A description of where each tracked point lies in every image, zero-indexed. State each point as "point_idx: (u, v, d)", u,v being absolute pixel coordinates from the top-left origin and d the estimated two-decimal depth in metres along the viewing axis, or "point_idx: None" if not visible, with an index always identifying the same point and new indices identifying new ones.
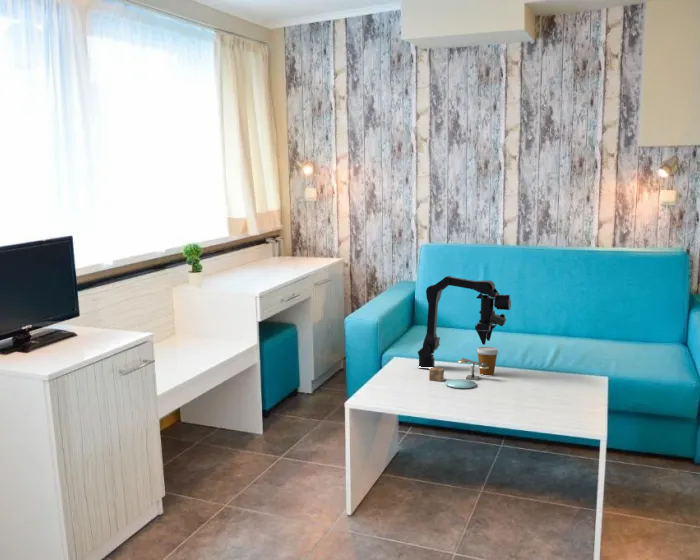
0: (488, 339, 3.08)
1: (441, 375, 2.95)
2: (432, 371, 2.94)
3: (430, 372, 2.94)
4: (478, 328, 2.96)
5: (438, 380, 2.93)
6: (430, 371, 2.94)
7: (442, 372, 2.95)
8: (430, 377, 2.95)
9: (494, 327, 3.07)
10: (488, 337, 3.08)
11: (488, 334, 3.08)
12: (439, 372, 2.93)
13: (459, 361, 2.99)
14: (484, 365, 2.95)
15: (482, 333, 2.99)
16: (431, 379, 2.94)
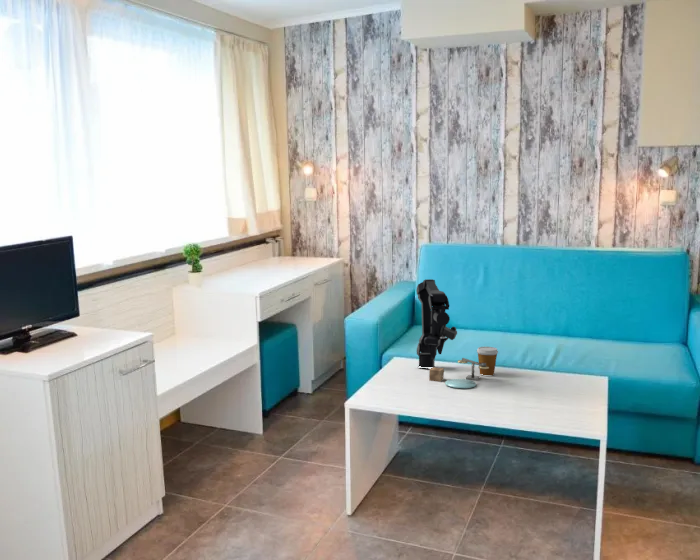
0: (439, 352, 2.99)
1: (441, 375, 2.95)
2: (432, 371, 2.94)
3: (430, 372, 2.94)
4: (427, 342, 2.86)
5: (438, 380, 2.93)
6: (430, 371, 2.94)
7: (442, 372, 2.95)
8: (430, 377, 2.95)
9: (445, 340, 2.98)
10: (439, 350, 2.99)
11: (439, 347, 2.99)
12: (439, 372, 2.93)
13: (459, 361, 2.99)
14: (484, 365, 2.95)
15: (432, 347, 2.89)
16: (431, 379, 2.94)
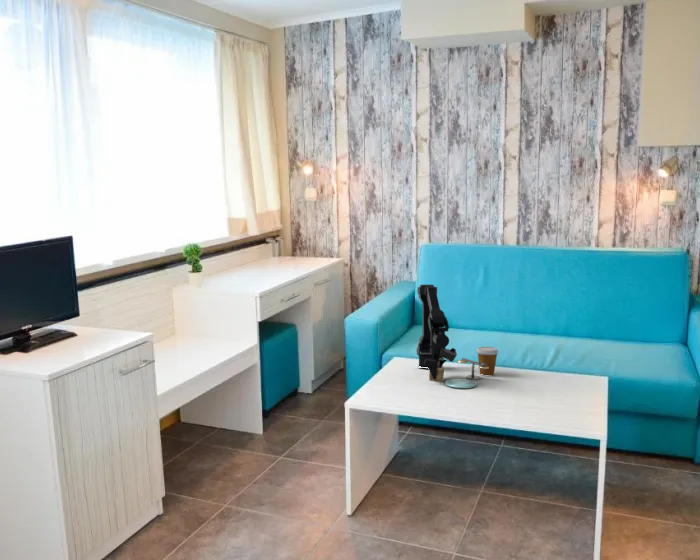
0: None
1: (441, 375, 2.95)
2: None
3: (430, 372, 2.94)
4: (427, 364, 2.87)
5: (438, 380, 2.93)
6: None
7: (442, 372, 2.95)
8: (430, 377, 2.95)
9: (444, 362, 2.97)
10: None
11: None
12: (439, 372, 2.93)
13: (459, 361, 2.99)
14: (484, 365, 2.95)
15: (433, 367, 2.92)
16: (431, 379, 2.94)
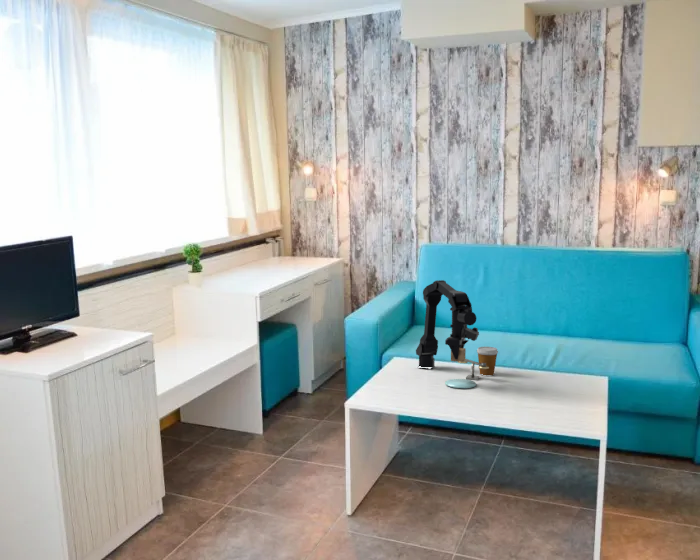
0: None
1: (463, 355, 2.86)
2: None
3: (451, 352, 2.85)
4: (448, 343, 2.78)
5: (460, 360, 2.84)
6: (451, 351, 2.85)
7: (464, 352, 2.86)
8: (452, 357, 2.85)
9: (466, 342, 2.88)
10: None
11: None
12: (461, 352, 2.83)
13: None
14: (484, 365, 2.95)
15: (454, 347, 2.83)
16: (453, 359, 2.85)
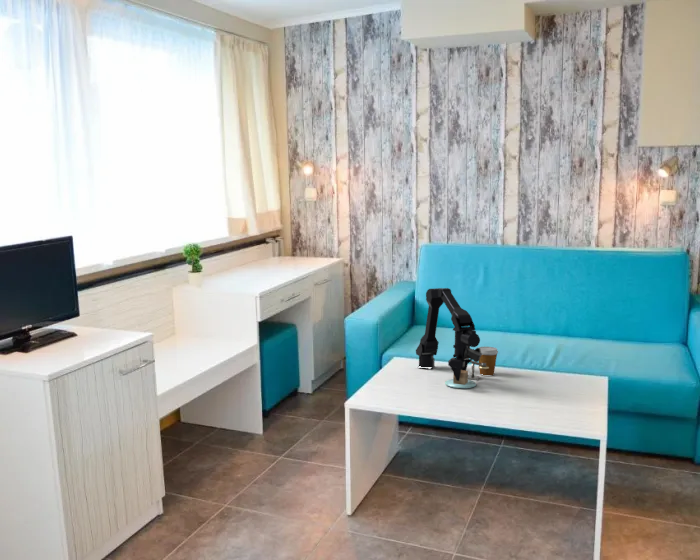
0: None
1: (466, 378, 2.86)
2: None
3: (454, 375, 2.86)
4: (451, 364, 2.79)
5: (462, 383, 2.84)
6: None
7: (466, 375, 2.87)
8: (454, 380, 2.86)
9: None
10: None
11: (463, 369, 2.91)
12: (463, 375, 2.84)
13: None
14: (484, 365, 2.95)
15: (456, 369, 2.82)
16: (455, 382, 2.86)
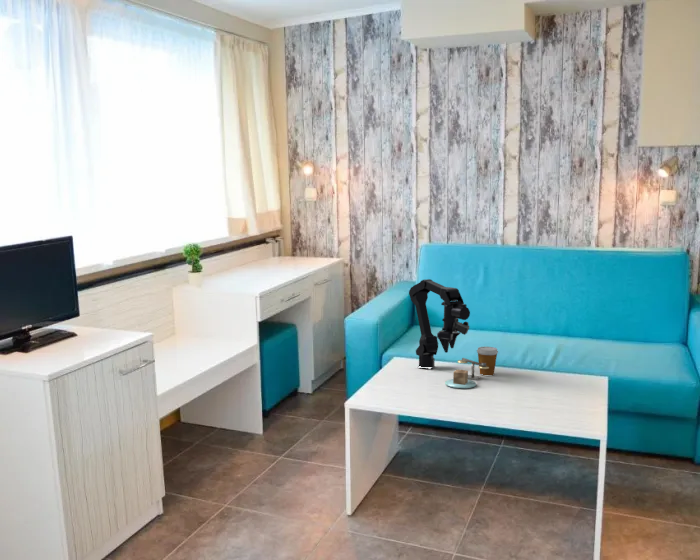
0: (452, 347, 3.05)
1: (466, 378, 2.86)
2: (456, 374, 2.85)
3: (454, 375, 2.86)
4: (440, 336, 2.93)
5: (462, 383, 2.84)
6: (454, 374, 2.86)
7: (466, 375, 2.87)
8: (454, 380, 2.86)
9: None
10: (452, 345, 3.05)
11: (452, 342, 3.05)
12: (463, 375, 2.84)
13: (459, 361, 2.99)
14: (484, 365, 2.95)
15: (444, 341, 2.96)
16: (455, 382, 2.86)
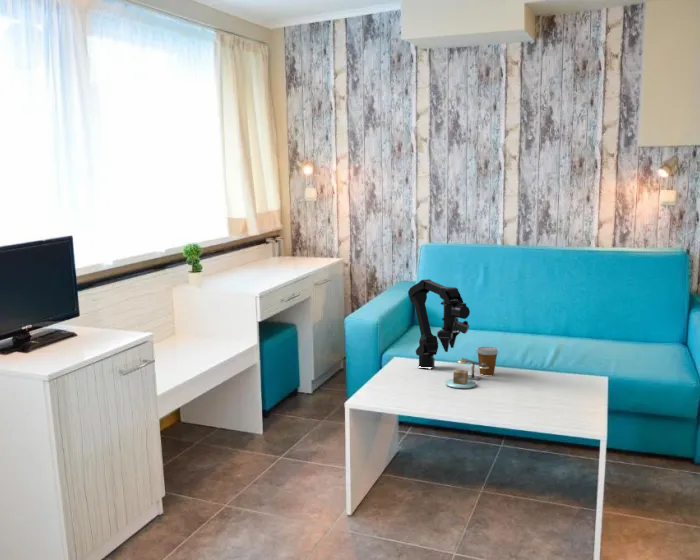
0: (452, 346, 3.06)
1: (466, 378, 2.86)
2: (456, 374, 2.85)
3: (454, 375, 2.86)
4: (440, 335, 2.93)
5: (462, 383, 2.84)
6: (454, 374, 2.86)
7: (466, 375, 2.87)
8: (454, 380, 2.86)
9: None
10: (452, 344, 3.05)
11: (452, 341, 3.05)
12: (463, 375, 2.84)
13: (459, 361, 2.99)
14: (484, 365, 2.95)
15: (444, 340, 2.96)
16: (455, 382, 2.86)
